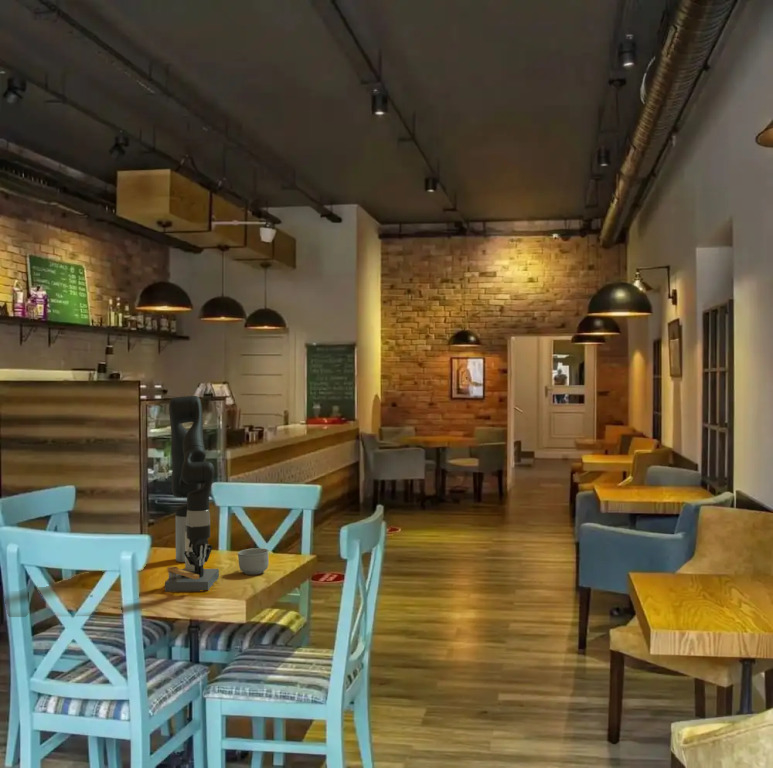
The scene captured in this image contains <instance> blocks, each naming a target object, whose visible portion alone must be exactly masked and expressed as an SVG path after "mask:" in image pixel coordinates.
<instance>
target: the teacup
mask: <svg viewBox="0 0 773 768" xmlns="http://www.w3.org/2000/svg"><path fill="white" fill-rule="evenodd" d="M237 555H238V557H237V558H238V559H237V561H238V567H239V569H240V571H241V572H242V573H244V574H245V575H249V576H251V575H252V576H254V575H259V574H263V573H265V571H266V570H267V569H268V567H269V549H268V548H263V547H259V548H257V547H255V548H253V547H251V548H248V549H246V548H245V549H242V550H239V551H238V552H237Z"/></svg>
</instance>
